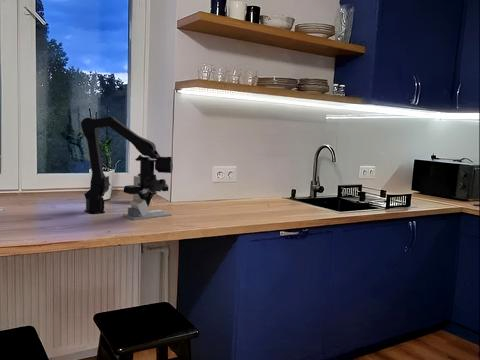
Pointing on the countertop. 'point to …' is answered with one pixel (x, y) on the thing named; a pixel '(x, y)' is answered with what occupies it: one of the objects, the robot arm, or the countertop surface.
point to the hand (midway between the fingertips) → (146, 208)
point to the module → (140, 206)
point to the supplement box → (136, 181)
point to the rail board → (135, 214)
